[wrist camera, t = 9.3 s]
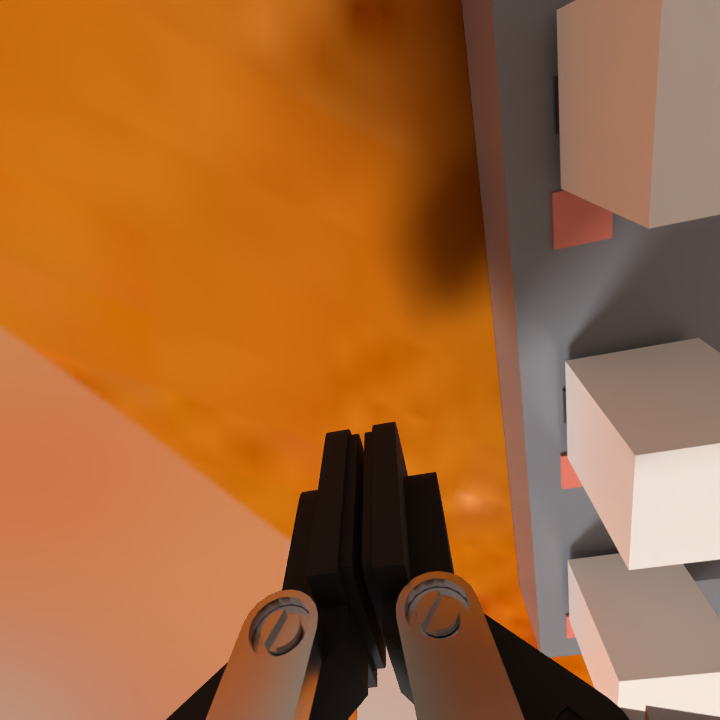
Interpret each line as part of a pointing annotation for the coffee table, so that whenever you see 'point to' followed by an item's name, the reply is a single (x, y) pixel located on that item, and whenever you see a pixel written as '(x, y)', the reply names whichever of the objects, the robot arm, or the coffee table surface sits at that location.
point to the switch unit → (564, 297)
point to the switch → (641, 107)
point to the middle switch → (650, 448)
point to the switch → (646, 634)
